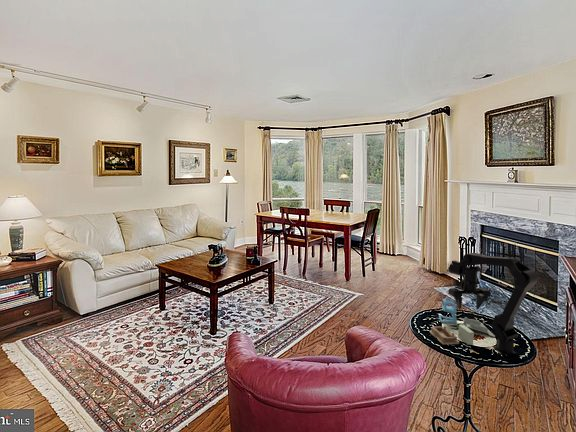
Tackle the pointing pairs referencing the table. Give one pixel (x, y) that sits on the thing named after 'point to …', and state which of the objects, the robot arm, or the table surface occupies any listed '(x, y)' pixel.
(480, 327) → the metal bracket
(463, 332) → the pale rectangular block
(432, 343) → the table surface
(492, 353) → the table surface
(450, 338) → the brown rectangular tray
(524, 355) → the table surface
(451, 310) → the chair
